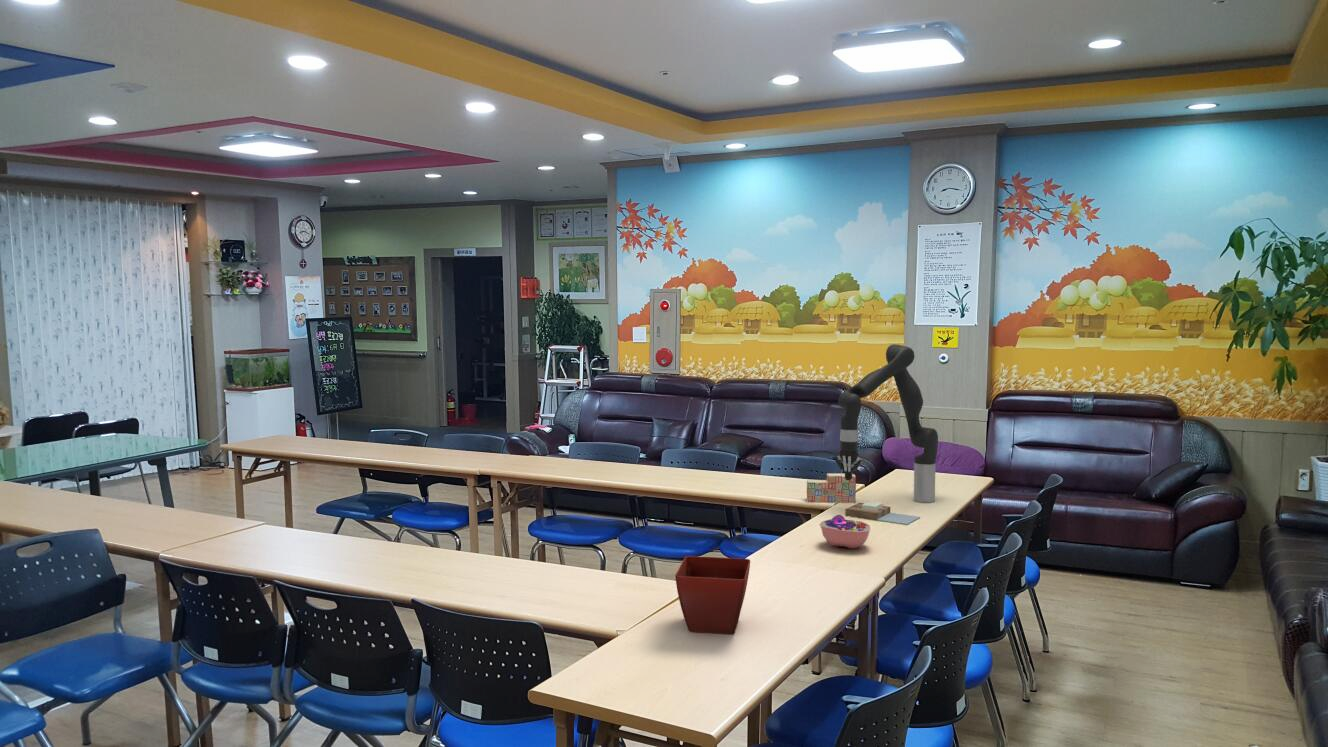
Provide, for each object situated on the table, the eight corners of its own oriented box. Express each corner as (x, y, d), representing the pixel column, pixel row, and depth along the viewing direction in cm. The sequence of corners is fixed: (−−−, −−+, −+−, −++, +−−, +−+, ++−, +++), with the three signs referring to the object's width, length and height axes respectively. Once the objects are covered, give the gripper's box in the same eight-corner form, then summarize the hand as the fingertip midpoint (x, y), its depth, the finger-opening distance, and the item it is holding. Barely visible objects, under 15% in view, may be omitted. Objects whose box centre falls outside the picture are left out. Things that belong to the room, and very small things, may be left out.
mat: (890, 513, 379) (890, 512, 379) (920, 517, 371) (920, 516, 371) (876, 520, 367) (876, 519, 367) (907, 525, 360) (907, 523, 359)
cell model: (848, 557, 316) (848, 525, 315) (809, 544, 333) (809, 514, 332) (881, 549, 325) (882, 518, 324) (842, 537, 342) (842, 508, 341)
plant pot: (745, 640, 239) (745, 579, 238) (674, 636, 242) (674, 575, 241) (750, 615, 258) (750, 558, 256) (685, 612, 261) (685, 555, 260)
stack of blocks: (807, 502, 401) (807, 475, 400) (806, 499, 408) (806, 473, 407) (855, 503, 400) (856, 476, 399) (854, 500, 406) (854, 473, 405)
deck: (859, 509, 387) (859, 502, 387) (890, 513, 379) (890, 506, 378) (845, 516, 375) (845, 509, 375) (876, 520, 367) (876, 513, 367)
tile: (869, 505, 381) (869, 501, 380) (882, 507, 377) (882, 503, 377) (861, 509, 374) (861, 504, 374) (875, 511, 371) (875, 506, 371)
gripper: (867, 440, 379) (866, 480, 380) (838, 437, 387) (837, 476, 388) (859, 442, 373) (859, 483, 374) (830, 439, 381) (830, 479, 382)
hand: (848, 479), depth 381 cm, fingers closed
